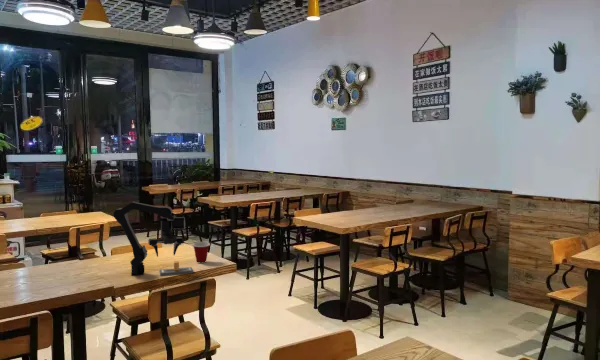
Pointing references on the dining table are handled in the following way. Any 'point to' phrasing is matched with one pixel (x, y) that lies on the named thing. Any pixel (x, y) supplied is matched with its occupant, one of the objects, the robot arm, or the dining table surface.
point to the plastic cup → (201, 251)
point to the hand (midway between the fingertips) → (165, 255)
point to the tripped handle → (176, 265)
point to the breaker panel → (180, 271)
